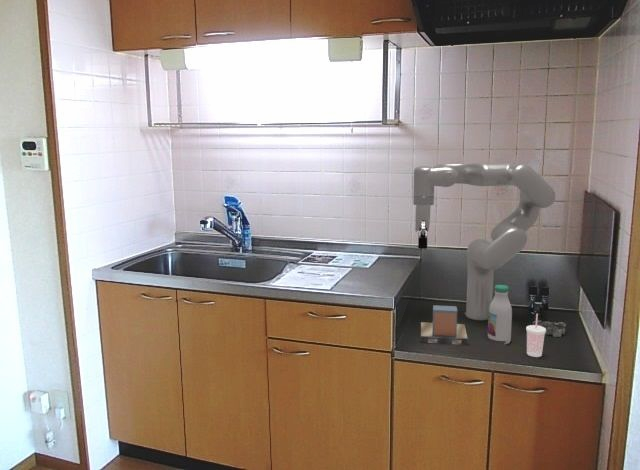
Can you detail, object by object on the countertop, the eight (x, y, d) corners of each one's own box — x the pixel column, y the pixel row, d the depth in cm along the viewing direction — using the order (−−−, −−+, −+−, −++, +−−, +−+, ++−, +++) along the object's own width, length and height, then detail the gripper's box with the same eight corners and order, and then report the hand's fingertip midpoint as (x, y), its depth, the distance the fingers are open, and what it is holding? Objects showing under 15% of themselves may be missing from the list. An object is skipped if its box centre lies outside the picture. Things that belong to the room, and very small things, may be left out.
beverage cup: (543, 351, 187) (546, 311, 184) (545, 358, 181) (548, 317, 178) (523, 349, 188) (526, 310, 186) (525, 356, 183) (527, 316, 180)
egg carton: (567, 333, 202) (568, 323, 202) (558, 339, 197) (559, 328, 197) (539, 326, 210) (539, 315, 209) (529, 331, 205) (530, 320, 204)
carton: (455, 336, 197) (456, 306, 195) (456, 341, 192) (457, 311, 190) (432, 334, 199) (433, 305, 196) (432, 340, 194) (433, 310, 191)
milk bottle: (510, 338, 198) (513, 284, 194) (510, 346, 191) (513, 290, 187) (488, 335, 201) (490, 282, 197) (486, 343, 194) (489, 288, 190)
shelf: (464, 328, 209) (464, 319, 208) (468, 349, 189) (469, 339, 188) (420, 325, 212) (421, 317, 211) (420, 346, 192) (420, 337, 191)
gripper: (413, 197, 215) (412, 240, 218) (412, 203, 198) (412, 250, 202) (433, 197, 214) (432, 241, 217) (434, 203, 197) (433, 251, 200)
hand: (422, 245), depth 209 cm, fingers open, 9 cm apart
